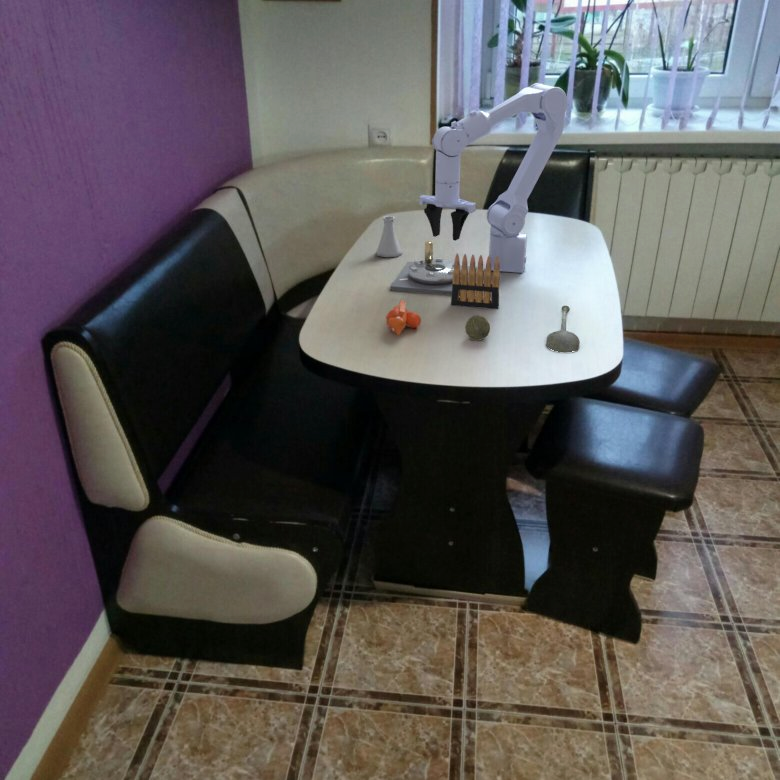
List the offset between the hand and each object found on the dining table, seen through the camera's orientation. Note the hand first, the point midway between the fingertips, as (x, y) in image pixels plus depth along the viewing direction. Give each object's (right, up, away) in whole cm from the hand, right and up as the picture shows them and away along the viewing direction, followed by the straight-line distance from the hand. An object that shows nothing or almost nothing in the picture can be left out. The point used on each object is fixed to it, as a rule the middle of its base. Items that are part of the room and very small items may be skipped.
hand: (446, 237), depth 178 cm
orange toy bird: (-11, -24, -23) cm, 35 cm away
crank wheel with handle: (-3, -9, 0) cm, 10 cm away
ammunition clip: (+5, -19, -13) cm, 23 cm away
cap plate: (-3, -10, +1) cm, 11 cm away
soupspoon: (+23, -25, -25) cm, 43 cm away
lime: (+4, -27, -28) cm, 39 cm away
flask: (-14, -1, +19) cm, 24 cm away
